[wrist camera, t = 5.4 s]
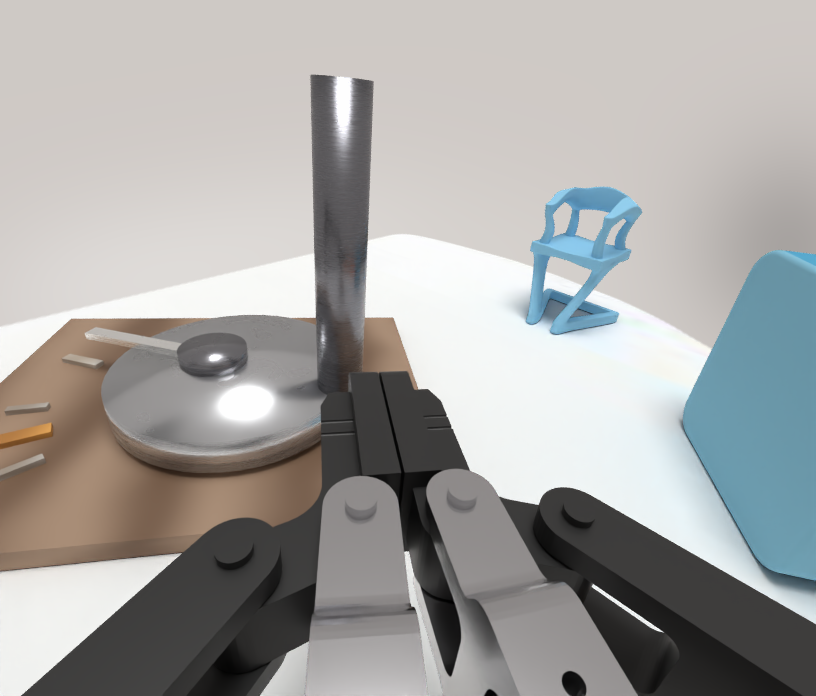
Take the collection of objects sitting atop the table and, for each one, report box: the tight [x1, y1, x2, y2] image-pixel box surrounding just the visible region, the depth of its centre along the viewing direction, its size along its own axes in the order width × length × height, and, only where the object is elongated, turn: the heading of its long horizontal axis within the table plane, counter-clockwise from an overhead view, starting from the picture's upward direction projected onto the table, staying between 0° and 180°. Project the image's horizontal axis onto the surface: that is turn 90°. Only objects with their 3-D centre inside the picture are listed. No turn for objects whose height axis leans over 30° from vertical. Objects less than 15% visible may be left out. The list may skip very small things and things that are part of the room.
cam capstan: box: [85, 75, 373, 473], centre depth 22 cm, size 17×13×16 cm
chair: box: [526, 187, 642, 334], centre depth 39 cm, size 8×8×12 cm
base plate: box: [0, 318, 418, 571], centre depth 26 cm, size 24×20×1 cm
